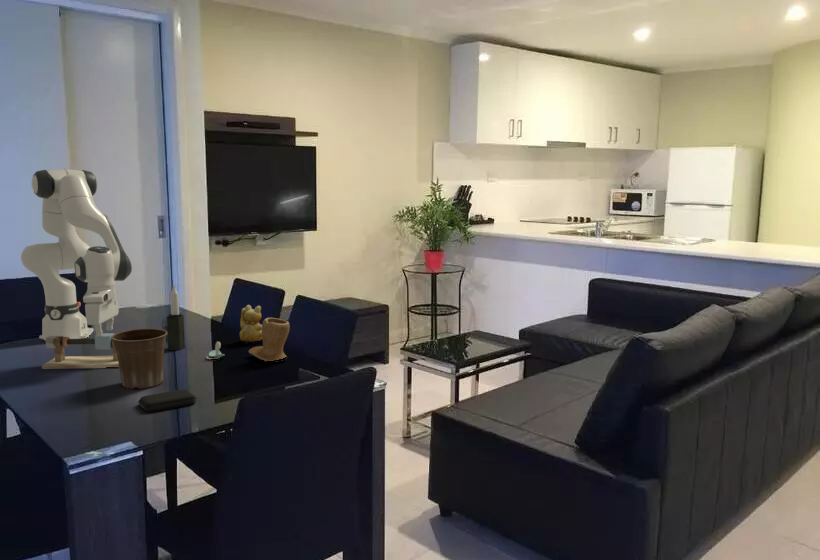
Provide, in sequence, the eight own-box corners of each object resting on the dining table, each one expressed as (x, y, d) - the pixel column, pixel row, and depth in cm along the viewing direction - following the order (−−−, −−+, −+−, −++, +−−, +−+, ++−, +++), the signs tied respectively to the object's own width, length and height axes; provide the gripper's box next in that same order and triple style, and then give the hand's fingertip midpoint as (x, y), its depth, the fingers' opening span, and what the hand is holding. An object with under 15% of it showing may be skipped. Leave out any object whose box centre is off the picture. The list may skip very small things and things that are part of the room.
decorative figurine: (266, 340, 267) (265, 304, 265) (259, 345, 259) (258, 308, 257) (243, 339, 268) (242, 303, 266) (235, 344, 260) (234, 307, 258)
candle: (179, 350, 250) (176, 285, 247) (166, 349, 251) (163, 285, 248) (186, 347, 255) (183, 283, 251) (174, 346, 256) (171, 283, 252)
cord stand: (57, 359, 236) (55, 333, 235) (132, 358, 238) (130, 332, 237) (41, 369, 224) (39, 340, 223) (120, 367, 226) (119, 339, 225)
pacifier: (210, 362, 235) (226, 359, 238) (208, 345, 234) (225, 342, 237) (203, 358, 241) (219, 355, 244) (202, 341, 240) (218, 338, 243)
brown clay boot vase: (295, 360, 237) (294, 320, 235) (264, 366, 230) (263, 324, 228) (277, 352, 249) (276, 313, 247) (247, 356, 242) (246, 316, 240)
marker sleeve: (100, 346, 233) (99, 333, 232) (115, 345, 233) (114, 333, 233) (95, 349, 228) (94, 336, 228) (110, 349, 229) (109, 336, 228)
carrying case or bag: (187, 395, 199) (135, 404, 190) (186, 385, 198) (135, 394, 190) (198, 405, 190) (145, 415, 182) (198, 395, 190) (145, 404, 181)
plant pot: (135, 395, 198) (132, 342, 195) (103, 386, 206) (100, 335, 204) (180, 381, 211) (178, 332, 209) (148, 373, 220) (145, 326, 218)
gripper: (103, 289, 238) (106, 327, 240) (80, 298, 218) (83, 339, 220) (121, 289, 239) (124, 326, 240) (100, 298, 218) (103, 339, 220)
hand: (104, 332), depth 230 cm, fingers open, 8 cm apart
